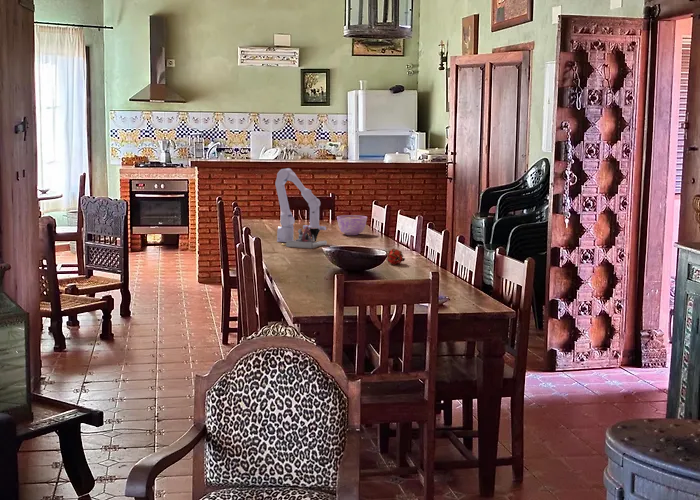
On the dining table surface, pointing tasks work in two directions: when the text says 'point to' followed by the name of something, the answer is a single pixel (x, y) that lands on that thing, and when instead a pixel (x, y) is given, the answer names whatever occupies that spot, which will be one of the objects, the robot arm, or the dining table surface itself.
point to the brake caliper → (305, 235)
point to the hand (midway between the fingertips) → (314, 241)
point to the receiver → (305, 244)
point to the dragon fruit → (395, 257)
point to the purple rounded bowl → (351, 224)
